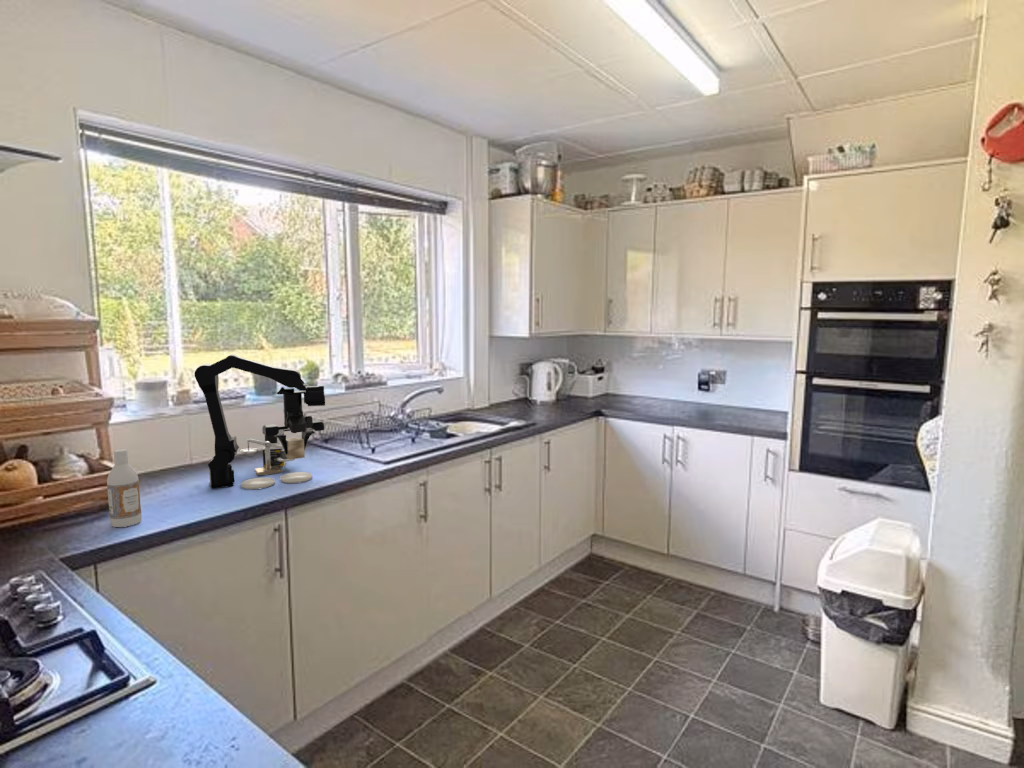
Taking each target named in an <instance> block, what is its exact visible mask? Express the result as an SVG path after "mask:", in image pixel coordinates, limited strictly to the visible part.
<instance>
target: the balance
mask: <svg viewBox="0 0 1024 768" xmlns="http://www.w3.org/2000/svg"><path fill="white" fill-rule="evenodd" d="M246 443H247V448H242V449H238V453H239V454H241V455H249V454H255V453H258V452H259V448H257V447H250V443H251V444H256V445H261V446H263V447H264V446H265V458H266V467H263V466H262V467H256V468H254V472H256V473H255V474H256V475H257V476H258V477H259V475H261V476H267V475H266V474H268V475H274V473H275V474H280V473H281V472H282V473H283V468H282V467H280V466H279V465H277V466H271V459H270V447H274V448H279V449H283V446H281V445H276V444H272V443H270V442H269V441H266V442H265V441H262V440H258V439H257V440H256V439H253V438H247V442H246ZM280 456H281V457H279V458H277V461H280V462H286V463H288V462H292V461H295V460H296V459H290V460H289V459H288V458H287V457H286V455H285V451H284V449H283V450H280Z"/></svg>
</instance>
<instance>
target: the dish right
mask: <svg viewBox="0 0 1024 768" xmlns="http://www.w3.org/2000/svg"><path fill="white" fill-rule="evenodd" d="M279 478H280V480H279V481H280V482H281V483H283V484H300V483H299V482H302V483H305V481H306V482H309V481H310V479H311V478H313V474H312V473H310V472H307V471H296V472H288V473H285V474H283V475H281V476H280V477H279ZM308 480H309V481H308ZM311 480H312V479H311Z"/></svg>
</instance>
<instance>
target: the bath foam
mask: <svg viewBox="0 0 1024 768" xmlns="http://www.w3.org/2000/svg"><path fill="white" fill-rule="evenodd" d="M113 458H114V459H113V460H114V465H113V467H112V468H111V469H110V471H109V473H108V476H107V479H106V489H107V500H108V511H109V523H110V526H111V527H112V526H114V527H113V528H115V527H124V528H126V527H125V526H130V525H133V526H135V525H134V524H136V525H138V524H140V523H141V522H142V519H143V518H142V509H141V507H142V505H141V493H140V479H139V475H138V473H137V471H136V470H135V469H134V467H133V466H132V465H131V464H130V463H129V456H128V449H127V448H123V449H122V448H119V449H116V450H114V451H113ZM139 522H140V523H139ZM137 523H138V524H137ZM130 527H131V526H130Z"/></svg>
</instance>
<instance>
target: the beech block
mask: <svg viewBox="0 0 1024 768" xmlns="http://www.w3.org/2000/svg"><path fill="white" fill-rule="evenodd" d="M286 443H287V454H286V453H285V455H286V457H287V458H288V459H289V460H290V459H295V460H296V459H297V460H298V459H303V458H305V451H304V440H303V439H302V436H301V437H299V436H298V437H297V436H296V437H290V438H289V437H288V438H286Z"/></svg>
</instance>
